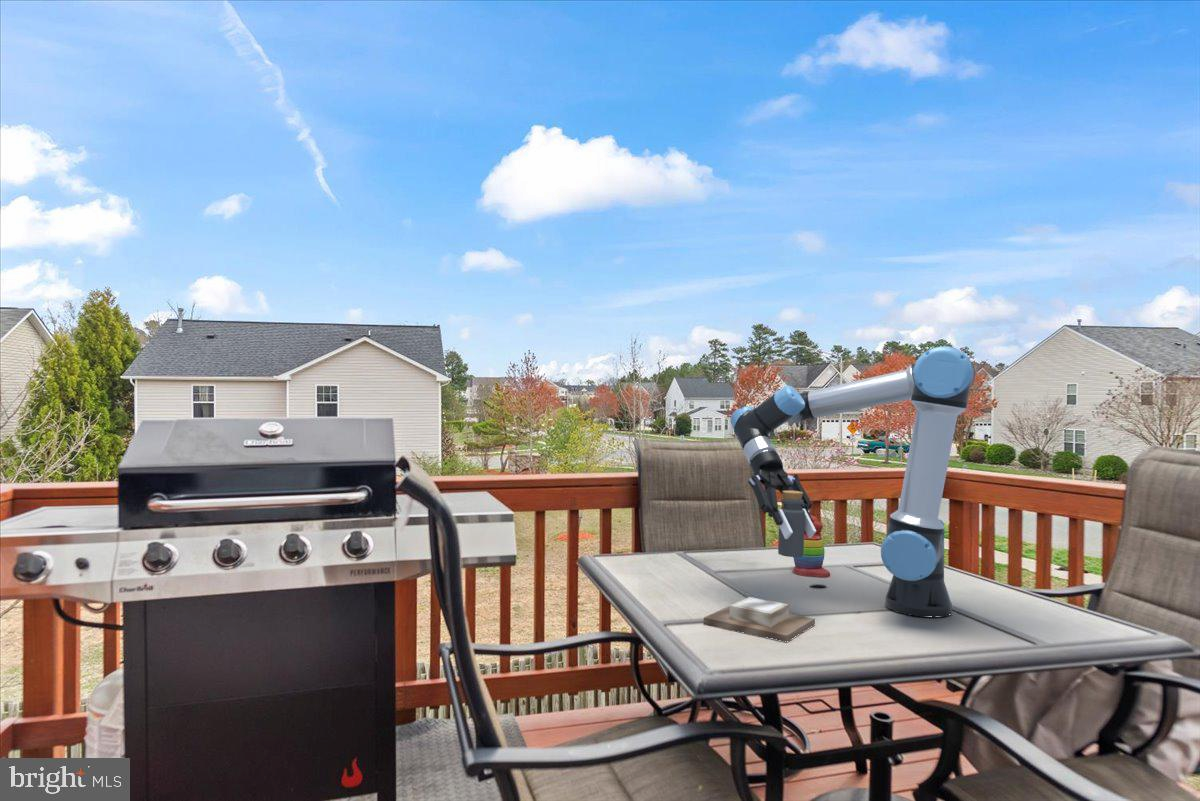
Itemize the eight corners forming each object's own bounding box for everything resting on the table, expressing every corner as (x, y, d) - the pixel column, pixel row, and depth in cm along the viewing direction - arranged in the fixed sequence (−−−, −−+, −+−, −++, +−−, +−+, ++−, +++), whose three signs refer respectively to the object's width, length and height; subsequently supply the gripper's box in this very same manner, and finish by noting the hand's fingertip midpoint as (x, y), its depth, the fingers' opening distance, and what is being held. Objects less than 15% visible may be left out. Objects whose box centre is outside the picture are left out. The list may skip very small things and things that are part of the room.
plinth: (814, 625, 160) (815, 605, 160) (786, 642, 148) (787, 620, 148) (735, 609, 172) (735, 590, 173) (703, 624, 160) (703, 603, 160)
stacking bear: (832, 577, 208) (832, 517, 208) (798, 577, 208) (798, 517, 208) (820, 569, 219) (820, 512, 219) (788, 569, 219) (788, 512, 219)
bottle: (789, 558, 162) (791, 493, 162) (772, 552, 168) (774, 490, 168) (808, 556, 165) (810, 492, 165) (791, 551, 170) (793, 489, 170)
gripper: (787, 467, 184) (826, 542, 169) (725, 468, 177) (759, 545, 162) (800, 449, 179) (841, 524, 164) (737, 448, 172) (773, 527, 157)
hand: (800, 534), depth 163 cm, fingers closed on bottle, 6 cm apart
